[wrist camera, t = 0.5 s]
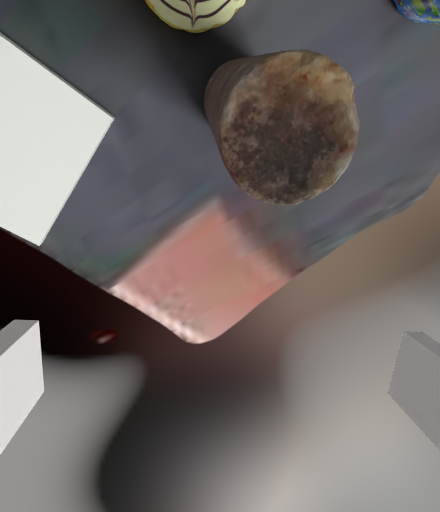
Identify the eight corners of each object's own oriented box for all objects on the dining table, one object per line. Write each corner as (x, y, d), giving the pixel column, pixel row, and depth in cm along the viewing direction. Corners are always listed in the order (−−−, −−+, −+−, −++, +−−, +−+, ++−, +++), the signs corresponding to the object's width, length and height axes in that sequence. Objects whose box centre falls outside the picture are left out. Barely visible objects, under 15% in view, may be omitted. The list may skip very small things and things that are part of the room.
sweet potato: (203, 141, 33) (224, 213, 16) (196, 62, 29) (215, 46, 12) (271, 135, 33) (363, 200, 16) (274, 56, 30) (396, 34, 13)
